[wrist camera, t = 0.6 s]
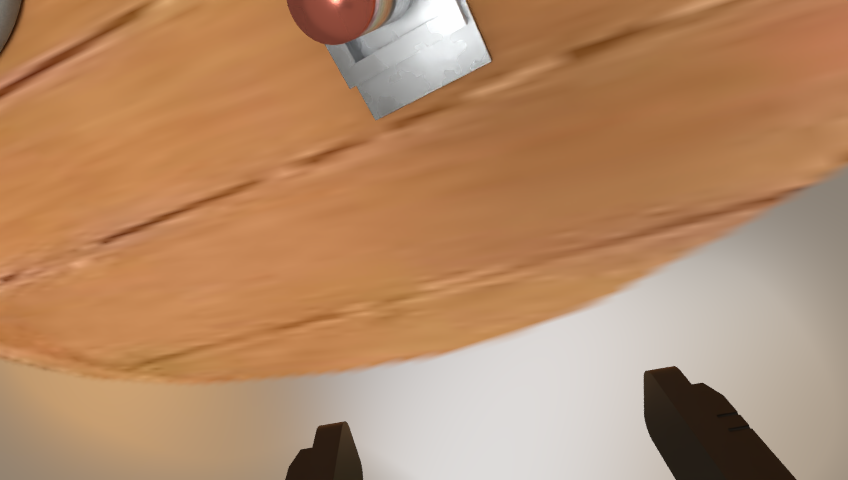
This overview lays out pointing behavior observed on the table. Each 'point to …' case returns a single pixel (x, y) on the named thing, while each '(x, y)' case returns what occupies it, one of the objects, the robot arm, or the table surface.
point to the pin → (344, 17)
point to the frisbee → (7, 18)
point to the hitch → (412, 54)
